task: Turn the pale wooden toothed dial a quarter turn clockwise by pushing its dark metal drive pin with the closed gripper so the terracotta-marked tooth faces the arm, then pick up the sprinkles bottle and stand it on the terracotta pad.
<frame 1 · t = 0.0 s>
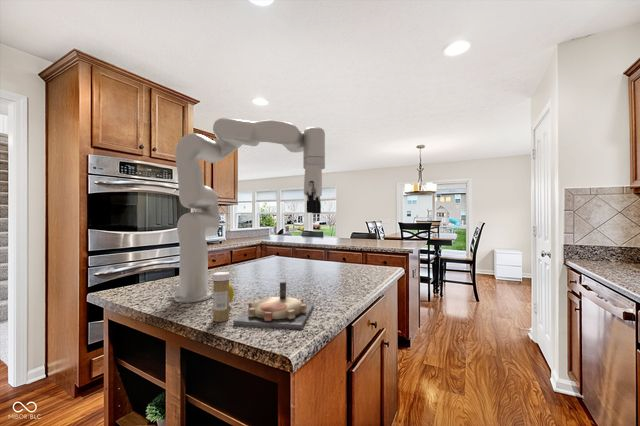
hand: (314, 213, 96), 31 cm above the counter, tool pointing down, fingers open, 9 cm apart
sprinkles bottle: (220, 320, 80), on the counter
lemon: (224, 306, 93), on the counter
sprocket dial: (277, 298, 84), point 5 cm above the counter, hinge at 0.0°
dial base: (277, 315, 84), on the counter
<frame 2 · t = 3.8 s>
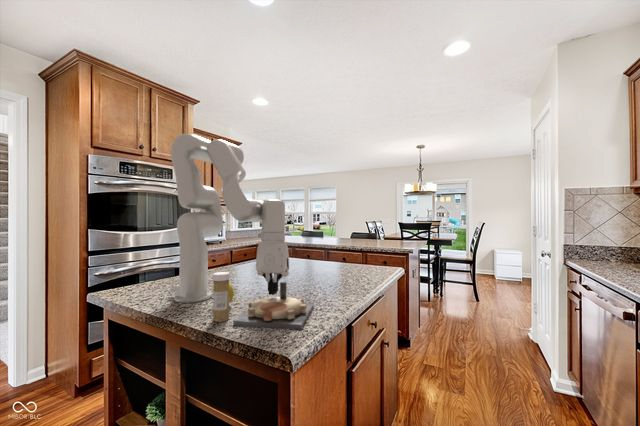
hand: (272, 293, 90), 5 cm above the counter, tool pointing down, fingers closed
sprocket dial: (277, 298, 84), point 5 cm above the counter, hinge at -1.2°, touching gripper
everything else where it was.
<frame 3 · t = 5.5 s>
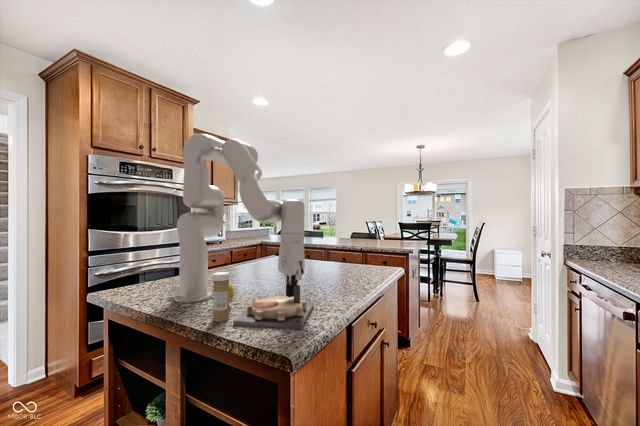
hand: (291, 295, 88), 5 cm above the counter, tool pointing down, fingers closed
sprocket dial: (277, 298, 84), point 5 cm above the counter, hinge at -65.8°, touching gripper
everything else where it was.
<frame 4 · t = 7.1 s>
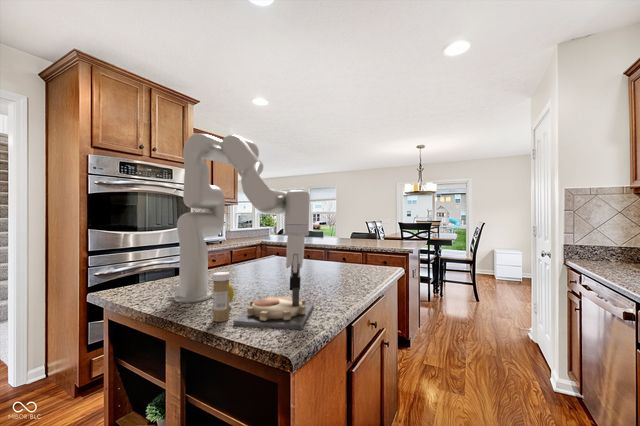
hand: (294, 289, 86), 7 cm above the counter, tool pointing down, fingers closed
sprocket dial: (277, 298, 84), point 5 cm above the counter, hinge at -99.2°
everything else where it was.
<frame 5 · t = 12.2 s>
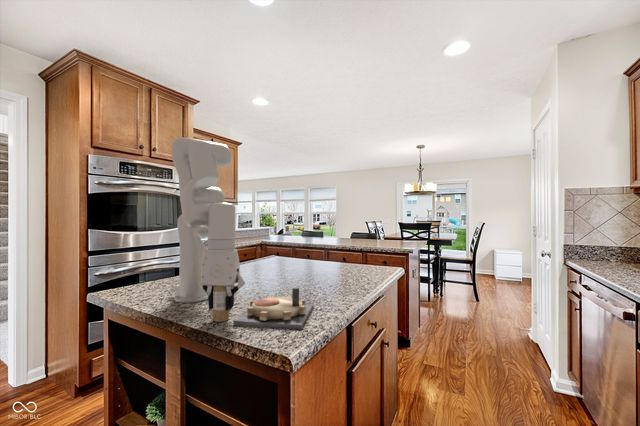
hand: (221, 307, 80), 3 cm above the counter, tool pointing down, fingers closed on sprinkles bottle, 4 cm apart
sprinkles bottle: (220, 320, 80), on the counter, touching gripper
everything else where it was.
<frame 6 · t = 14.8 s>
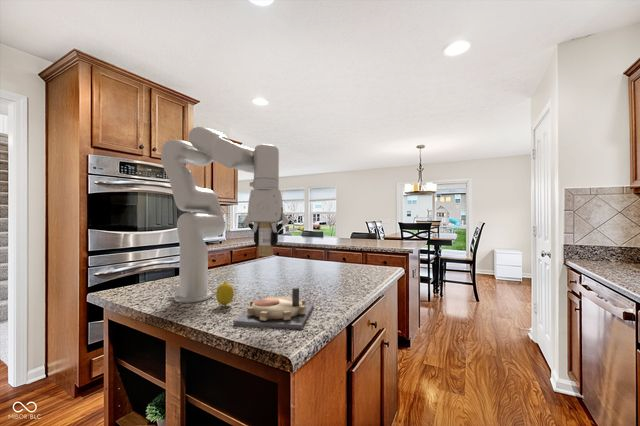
hand: (265, 244, 85), 21 cm above the counter, tool pointing down, fingers closed on sprinkles bottle, 4 cm apart
sprinkles bottle: (265, 256, 85), point 18 cm above the counter, touching gripper
everything else where it was.
when the fingers open (8 cm above the counter, at t = 17.5 s): sprinkles bottle drops 1 cm, resting on sprocket dial.
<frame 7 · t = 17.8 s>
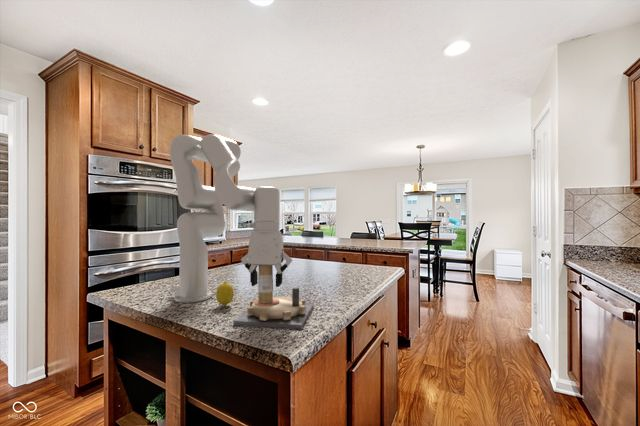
hand: (266, 285, 84), 9 cm above the counter, tool pointing down, fingers open, 7 cm apart
sprinkles bottle: (265, 302, 84), point 4 cm above the counter, touching sprocket dial
sprocket dial: (277, 298, 84), point 5 cm above the counter, hinge at -99.2°, touching sprinkles bottle
everything else where it was.
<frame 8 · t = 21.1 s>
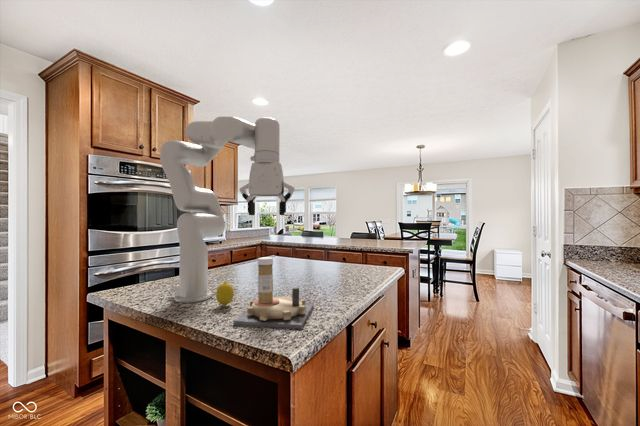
hand: (266, 215, 85), 30 cm above the counter, tool pointing down, fingers open, 9 cm apart
nothing on the counter moved.
at the end: sprocket dial at -99° (first picture: +0°); sprinkles bottle 0.3 cm from the target spot on the sprocket dial, point 3.6 cm above the sprocket dial's base; sprinkles bottle tilted 0° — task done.
